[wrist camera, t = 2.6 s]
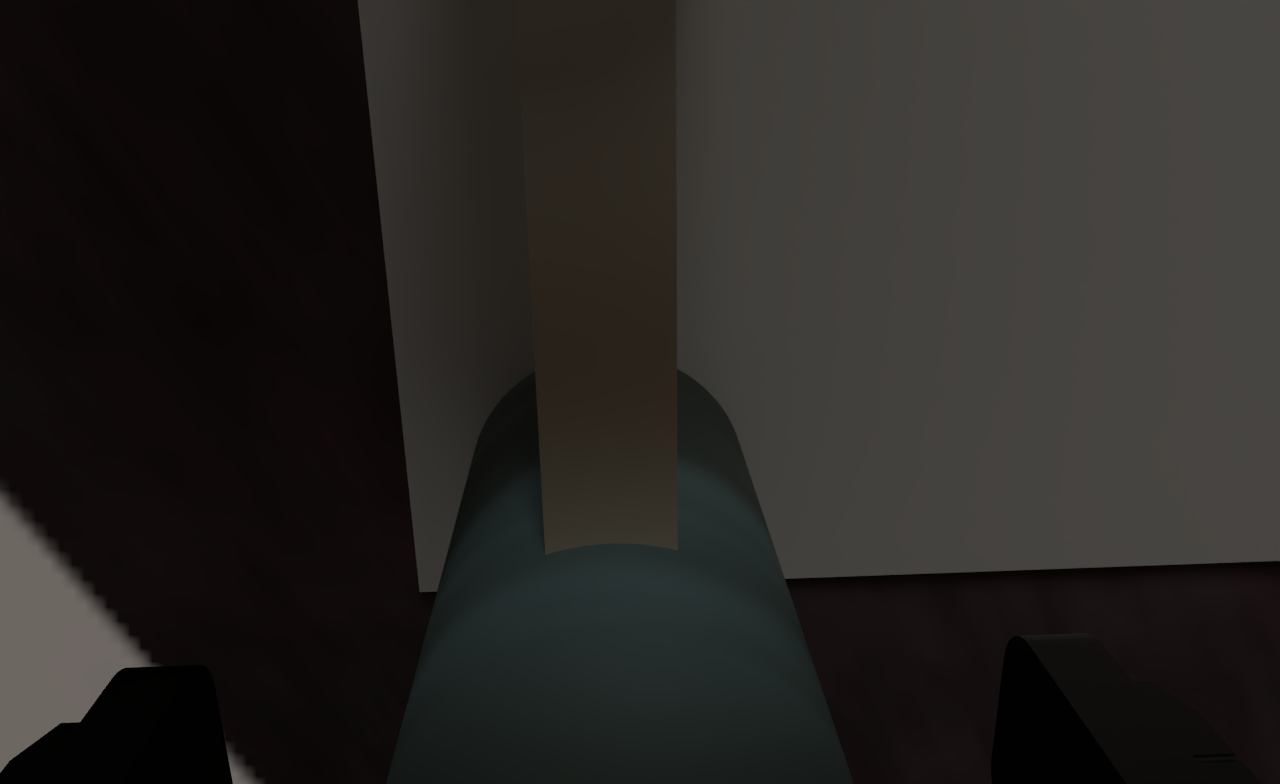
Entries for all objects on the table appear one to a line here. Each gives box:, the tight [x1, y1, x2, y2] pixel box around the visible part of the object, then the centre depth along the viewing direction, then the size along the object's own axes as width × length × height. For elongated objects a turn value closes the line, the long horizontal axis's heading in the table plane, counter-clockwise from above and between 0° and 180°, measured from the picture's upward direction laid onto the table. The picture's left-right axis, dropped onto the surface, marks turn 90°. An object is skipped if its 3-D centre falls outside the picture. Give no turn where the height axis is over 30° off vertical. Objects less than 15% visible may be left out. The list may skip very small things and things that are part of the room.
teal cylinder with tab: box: [386, 0, 854, 784], centre depth 11 cm, size 10×4×7 cm, turn 1°
